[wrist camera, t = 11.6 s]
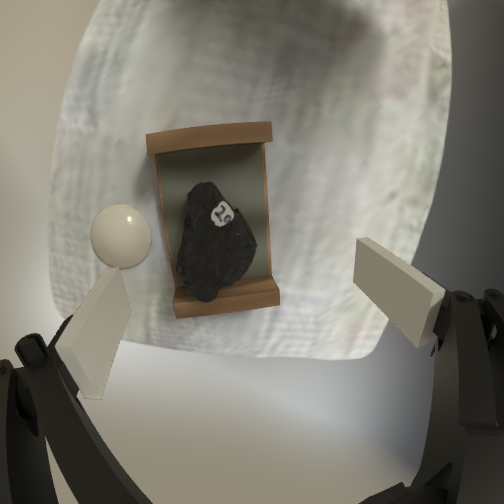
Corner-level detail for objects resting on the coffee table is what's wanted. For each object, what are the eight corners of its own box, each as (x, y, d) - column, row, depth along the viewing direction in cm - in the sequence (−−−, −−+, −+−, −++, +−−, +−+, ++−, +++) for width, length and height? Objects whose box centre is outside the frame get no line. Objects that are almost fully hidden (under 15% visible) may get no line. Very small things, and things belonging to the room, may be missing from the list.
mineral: (147, 224, 30) (136, 240, 24) (209, 172, 29) (210, 177, 23) (204, 286, 33) (205, 312, 28) (263, 241, 33) (275, 260, 27)
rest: (155, 137, 28) (145, 134, 23) (260, 126, 29) (271, 121, 24) (179, 296, 35) (176, 318, 30) (270, 284, 36) (279, 305, 32)
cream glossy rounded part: (86, 211, 29) (84, 212, 29) (144, 197, 30) (142, 198, 29) (102, 270, 32) (101, 272, 32) (158, 259, 33) (157, 262, 32)
